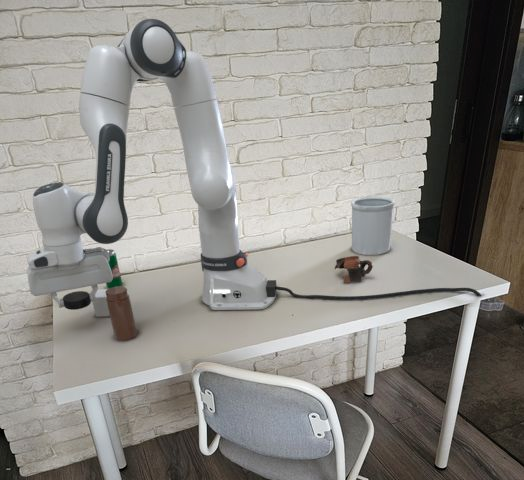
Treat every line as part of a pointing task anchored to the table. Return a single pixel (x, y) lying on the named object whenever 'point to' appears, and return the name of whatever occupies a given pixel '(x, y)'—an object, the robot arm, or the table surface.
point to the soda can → (114, 270)
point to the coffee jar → (121, 313)
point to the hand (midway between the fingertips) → (77, 303)
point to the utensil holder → (372, 224)
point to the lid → (76, 300)
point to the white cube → (100, 303)
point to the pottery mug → (353, 268)
